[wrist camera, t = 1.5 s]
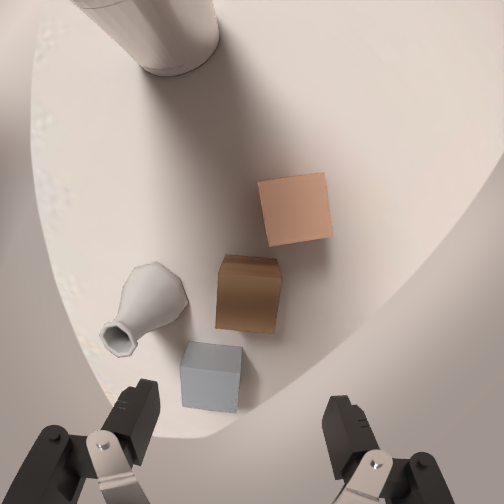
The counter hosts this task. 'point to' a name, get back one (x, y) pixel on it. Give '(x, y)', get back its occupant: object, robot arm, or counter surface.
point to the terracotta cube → (295, 209)
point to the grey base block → (211, 377)
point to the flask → (144, 307)
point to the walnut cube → (248, 294)
